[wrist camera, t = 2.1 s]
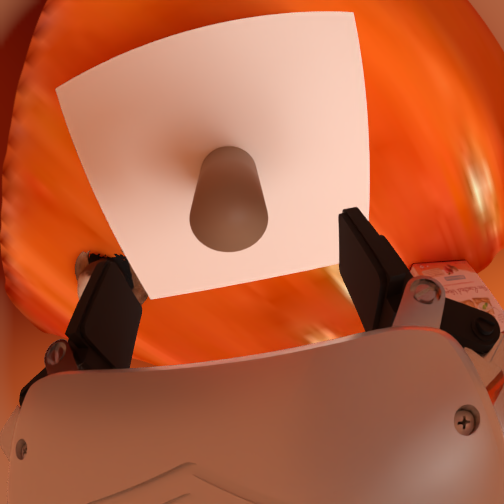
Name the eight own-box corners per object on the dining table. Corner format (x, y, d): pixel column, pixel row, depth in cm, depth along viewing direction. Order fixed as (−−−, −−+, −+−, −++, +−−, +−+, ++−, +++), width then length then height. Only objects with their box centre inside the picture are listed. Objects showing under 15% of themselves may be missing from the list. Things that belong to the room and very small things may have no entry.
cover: (116, 75, 22) (-3, 108, 8) (306, 30, 20) (406, -3, 6) (169, 228, 33) (138, 355, 19) (327, 195, 32) (394, 309, 18)
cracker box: (466, 257, 41) (526, 343, 24) (453, 281, 44) (504, 366, 28) (412, 260, 40) (476, 369, 23) (400, 288, 43) (452, 392, 27)
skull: (160, 314, 41) (108, 352, 34) (124, 280, 46) (77, 310, 39) (149, 254, 34) (80, 295, 27) (111, 222, 38) (53, 253, 31)
